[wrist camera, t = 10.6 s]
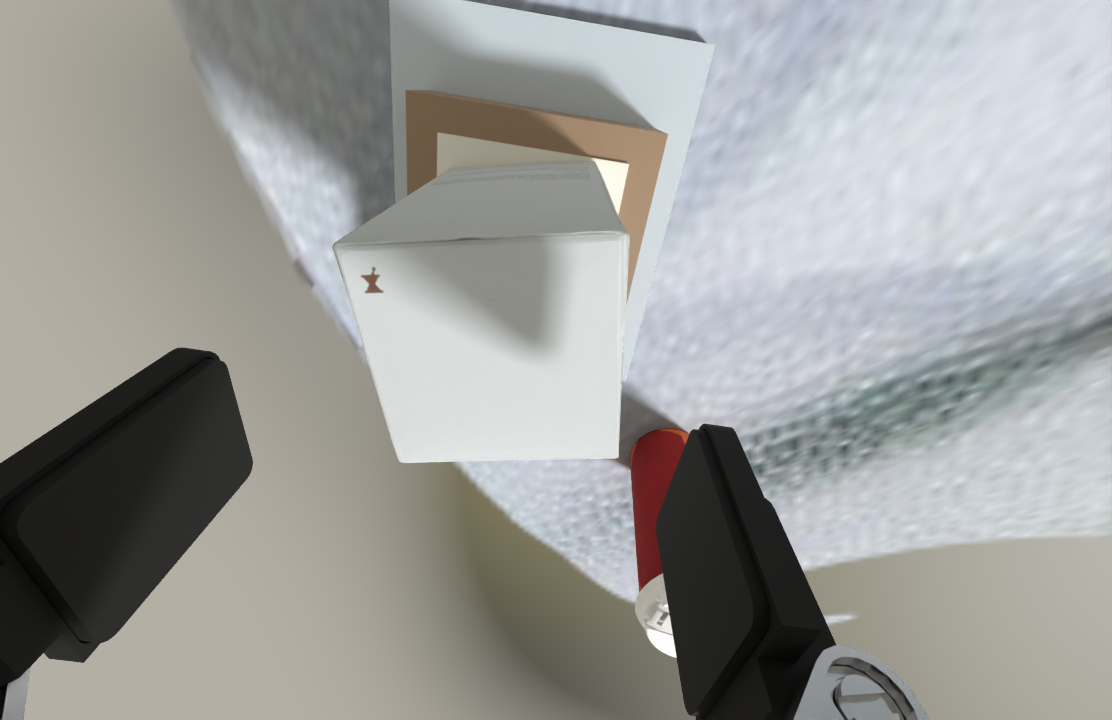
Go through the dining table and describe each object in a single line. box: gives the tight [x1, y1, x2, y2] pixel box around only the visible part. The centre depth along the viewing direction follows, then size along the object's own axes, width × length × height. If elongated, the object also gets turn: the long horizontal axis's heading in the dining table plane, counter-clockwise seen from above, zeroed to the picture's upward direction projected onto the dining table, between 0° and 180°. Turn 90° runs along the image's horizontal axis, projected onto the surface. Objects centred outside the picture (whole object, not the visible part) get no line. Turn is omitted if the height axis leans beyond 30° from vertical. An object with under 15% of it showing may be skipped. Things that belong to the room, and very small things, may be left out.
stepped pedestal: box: [389, 0, 715, 382], centre depth 26 cm, size 20×16×5 cm
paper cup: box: [631, 429, 689, 658], centre depth 31 cm, size 8×8×14 cm
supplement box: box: [332, 161, 630, 463], centre depth 18 cm, size 7×7×13 cm
